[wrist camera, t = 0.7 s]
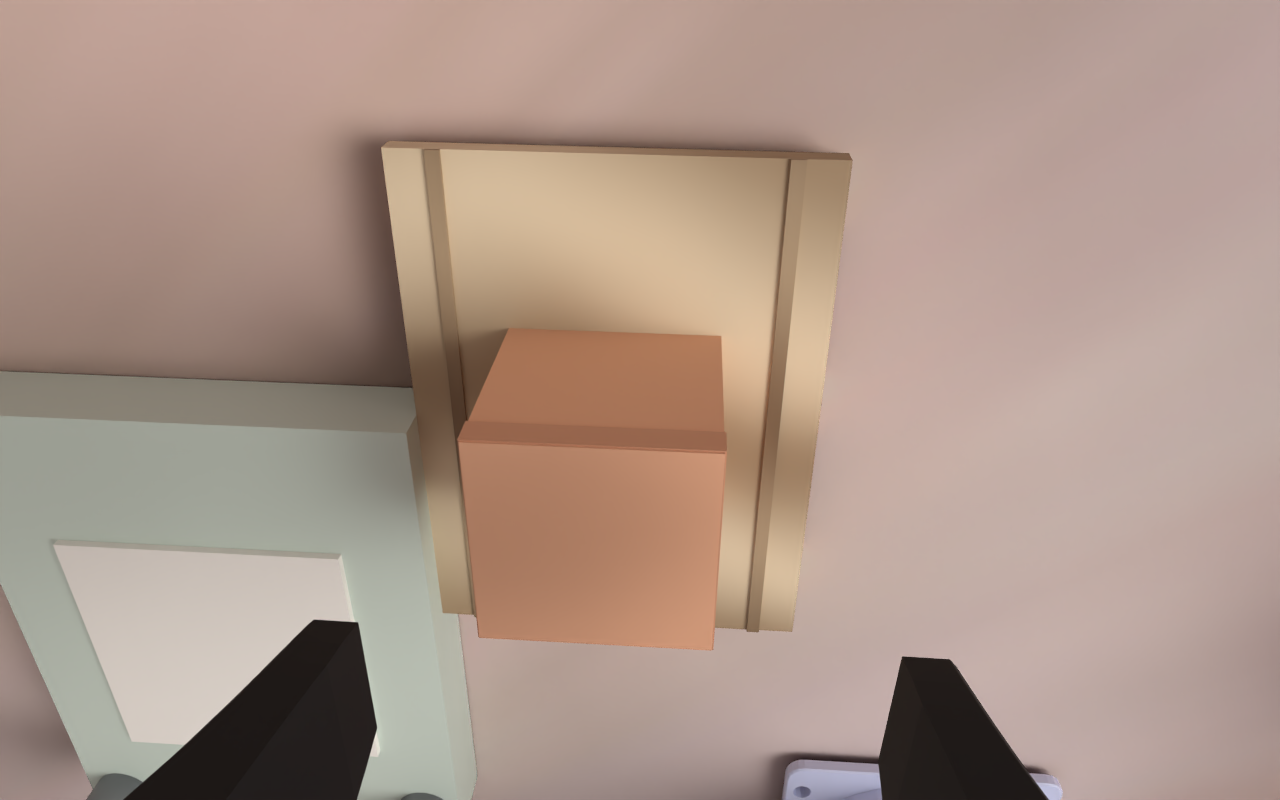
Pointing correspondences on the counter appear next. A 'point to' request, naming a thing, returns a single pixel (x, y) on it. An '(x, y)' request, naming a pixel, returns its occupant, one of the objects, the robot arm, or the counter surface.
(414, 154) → the pallet
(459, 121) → the counter surface
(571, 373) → the orange block
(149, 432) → the dock
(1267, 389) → the counter surface
